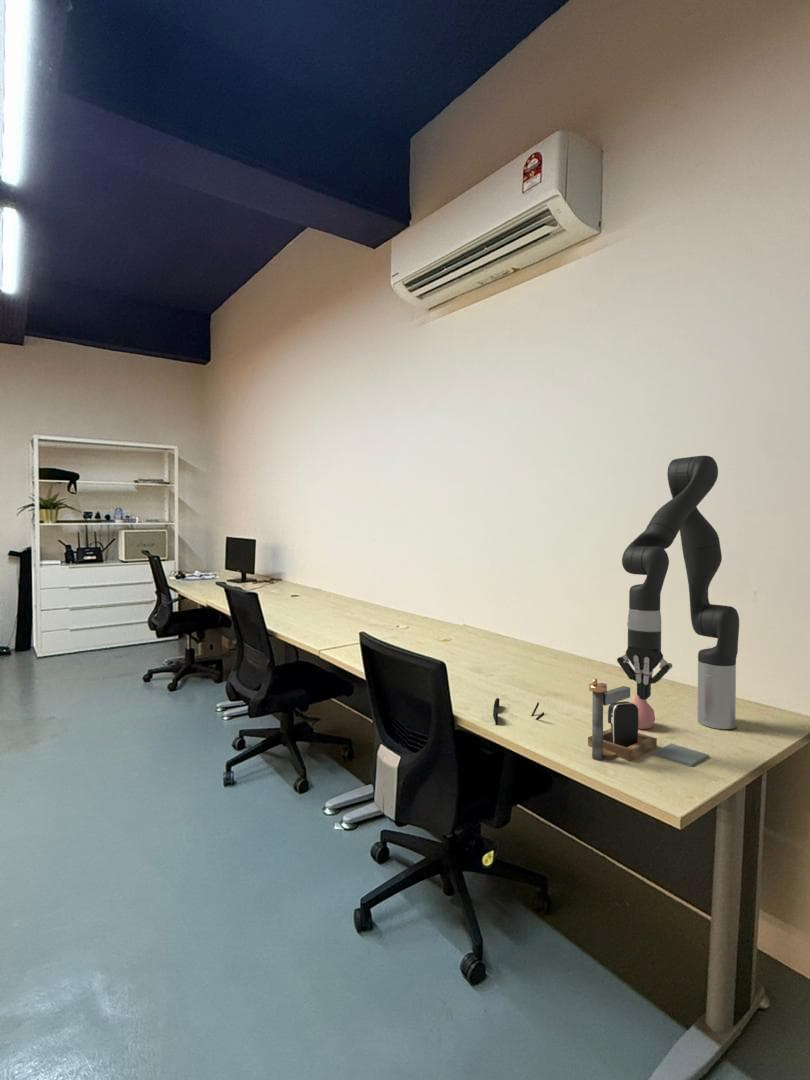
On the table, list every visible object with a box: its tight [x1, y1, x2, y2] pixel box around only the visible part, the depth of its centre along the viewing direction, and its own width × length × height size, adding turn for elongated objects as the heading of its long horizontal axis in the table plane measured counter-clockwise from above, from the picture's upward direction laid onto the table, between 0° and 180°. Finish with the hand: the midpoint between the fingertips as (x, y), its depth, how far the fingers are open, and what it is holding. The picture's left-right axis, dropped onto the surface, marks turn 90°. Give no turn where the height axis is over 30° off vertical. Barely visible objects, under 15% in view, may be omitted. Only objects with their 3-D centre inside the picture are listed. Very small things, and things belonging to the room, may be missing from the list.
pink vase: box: [630, 694, 656, 730], centre depth 152 cm, size 8×8×12 cm
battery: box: [607, 701, 639, 747], centre depth 138 cm, size 7×4×11 cm, turn 106°
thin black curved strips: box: [492, 697, 545, 726], centre depth 158 cm, size 17×14×5 cm
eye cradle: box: [587, 692, 658, 762], centre depth 136 cm, size 19×11×16 cm, turn 129°
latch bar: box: [588, 678, 631, 707], centre depth 134 cm, size 15×4×7 cm, turn 129°
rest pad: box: [653, 743, 710, 767], centre depth 133 cm, size 9×9×1 cm
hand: (643, 698), depth 135 cm, fingers closed
